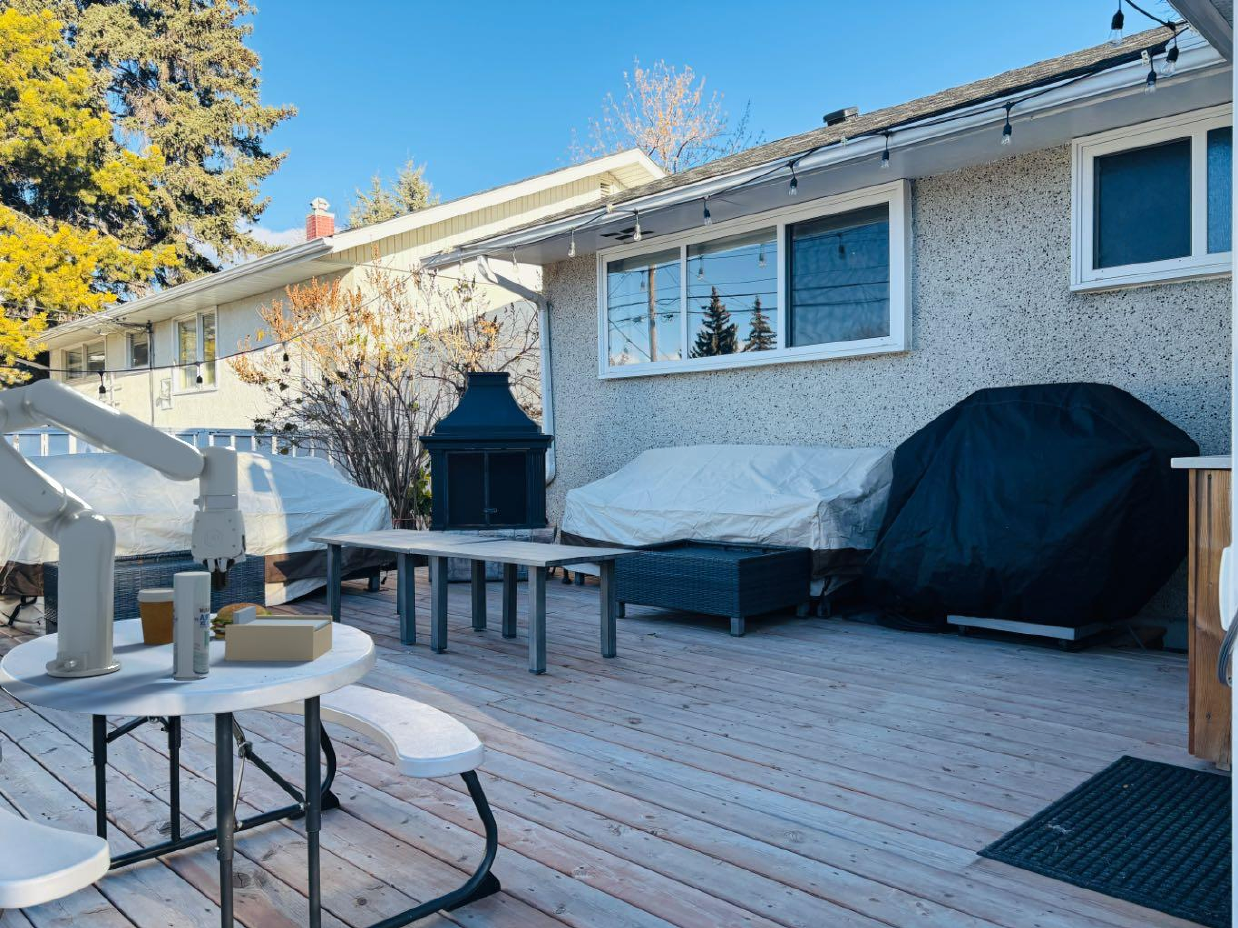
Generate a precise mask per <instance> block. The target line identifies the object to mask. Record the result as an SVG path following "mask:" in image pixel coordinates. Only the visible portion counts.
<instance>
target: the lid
mask: <svg viewBox="0 0 1238 928" xmlns="http://www.w3.org/2000/svg"><path fill="white" fill-rule="evenodd" d="M328 623H330V620H279V619H256V606H249V607H247V608H244V609H241V610H239V611H236V612H234V613H233V625H315V630H317V629H319V628H321V627H323V626H324V625H326V624H328Z"/></svg>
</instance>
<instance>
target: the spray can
mask: <svg viewBox="0 0 1238 928" xmlns="http://www.w3.org/2000/svg"><path fill="white" fill-rule="evenodd" d="M211 587H212V579H211V572H210V571H184V572H178V573H176V572H175V573H174V574H173V588H174V613H173V642H172V644H173V650H172V651H173V653H172V655H173V656H172V657H173V658H172V659H173V662H172V664H173V665H172V667H173V668H172V670H173V671H172V672H173V673H172V675H173V681H176V682H192V681H193V682H194V681H200V680H201V681H202V680H204V679H207V678H208V676H205V675H208V674H209V673H210V636H211V635H210V633H211V632H210V631H211V630H210V627H211V623H210V621H211V620H210V619H211Z"/></svg>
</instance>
